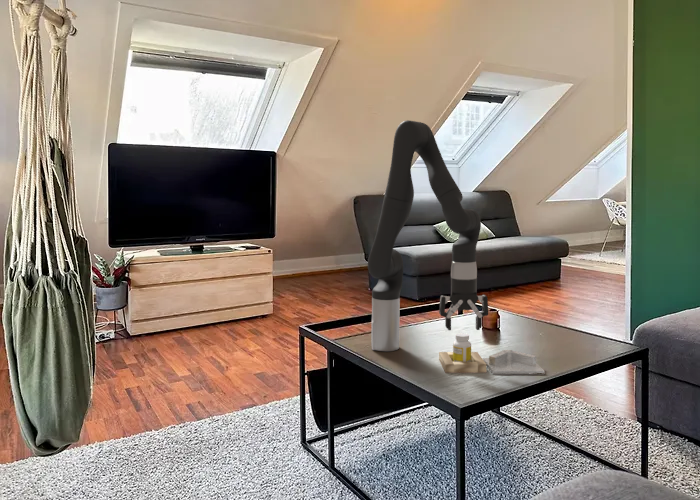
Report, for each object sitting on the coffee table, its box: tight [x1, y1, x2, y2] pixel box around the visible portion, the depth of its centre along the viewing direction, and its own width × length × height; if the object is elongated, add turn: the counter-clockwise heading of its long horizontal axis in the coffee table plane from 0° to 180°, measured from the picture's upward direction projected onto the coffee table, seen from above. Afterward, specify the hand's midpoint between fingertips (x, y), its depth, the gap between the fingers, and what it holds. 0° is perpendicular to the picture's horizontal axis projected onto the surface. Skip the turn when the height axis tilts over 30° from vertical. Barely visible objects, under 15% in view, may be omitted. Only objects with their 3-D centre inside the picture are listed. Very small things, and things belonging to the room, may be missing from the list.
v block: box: [482, 349, 545, 375], centre depth 170 cm, size 15×12×4 cm
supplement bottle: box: [452, 332, 472, 362], centre depth 171 cm, size 5×5×10 cm
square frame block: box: [438, 351, 487, 374], centre depth 172 cm, size 12×12×2 cm
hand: (463, 329), depth 170 cm, fingers open, 8 cm apart
